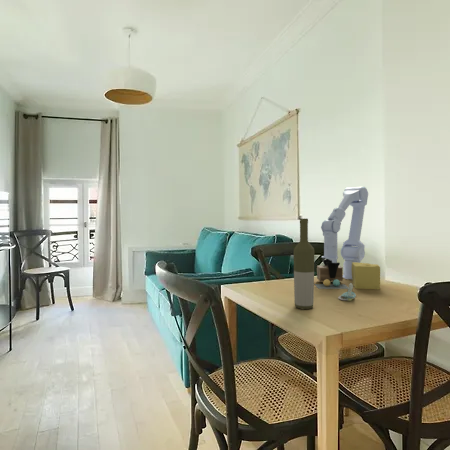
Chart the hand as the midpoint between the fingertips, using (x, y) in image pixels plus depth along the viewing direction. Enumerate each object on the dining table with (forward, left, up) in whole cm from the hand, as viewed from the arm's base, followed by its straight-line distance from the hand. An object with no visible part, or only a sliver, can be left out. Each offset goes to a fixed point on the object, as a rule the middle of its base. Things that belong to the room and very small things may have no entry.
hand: (330, 276), depth 157 cm
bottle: (+41, -18, -3) cm, 45 cm away
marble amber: (+9, -4, -3) cm, 10 cm away
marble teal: (+9, 0, -3) cm, 9 cm away
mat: (+9, -2, -3) cm, 9 cm away
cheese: (+8, +13, -3) cm, 15 cm away
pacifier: (+29, -1, -3) cm, 29 cm away
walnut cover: (0, -1, -2) cm, 2 cm away
